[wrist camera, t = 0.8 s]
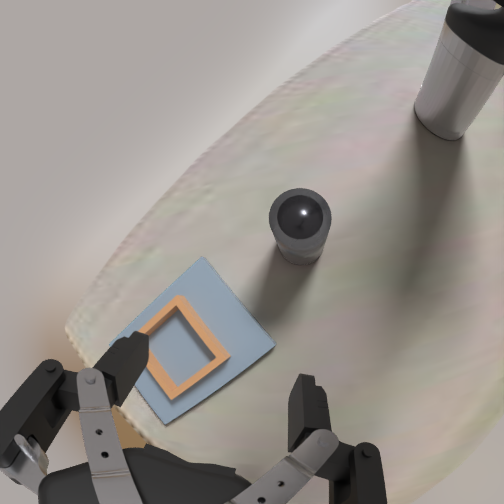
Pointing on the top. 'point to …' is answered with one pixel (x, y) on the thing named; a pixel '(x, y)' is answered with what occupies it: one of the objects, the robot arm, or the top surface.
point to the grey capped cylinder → (300, 224)
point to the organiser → (195, 341)
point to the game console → (477, 3)
